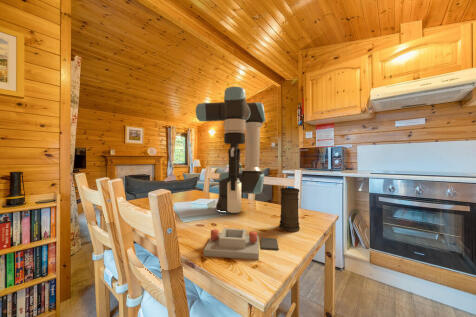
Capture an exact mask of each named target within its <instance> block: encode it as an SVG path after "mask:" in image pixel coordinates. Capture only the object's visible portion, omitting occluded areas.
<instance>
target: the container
mask: <svg viewBox="0 0 476 317" xmlns="http://www.w3.org/2000/svg"><path fill="white" fill-rule="evenodd" d="M279 191H280V220H279V228H280V229H281V230H282V231H286V232H290V233H291V232H292V233H293V232H294V233H295V232H298V231H300V229H301V228H300V222H299V219H300V217H299V200H300V199H299V195H300V189H299V188H294V187H280V190H279Z"/></svg>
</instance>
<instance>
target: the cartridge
mask: <svg viewBox="0 0 476 317" xmlns="http://www.w3.org/2000/svg"><path fill="white" fill-rule="evenodd" d="M227 211H228V212H231V213H230V214H235V213H236V214H237V213H240V212H241V211H242V193H241V183H240V180H237V200H229V182H228V183H227Z"/></svg>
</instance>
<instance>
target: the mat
mask: <svg viewBox="0 0 476 317" xmlns="http://www.w3.org/2000/svg"><path fill="white" fill-rule="evenodd" d="M260 240H261V241H260V243H261V244H260V245H261V250H272V251H274V250H275V251H279V250H280V249H279V244H278V239H277V237H276V238H275V237H274V238H273V237H261V238H260Z"/></svg>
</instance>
